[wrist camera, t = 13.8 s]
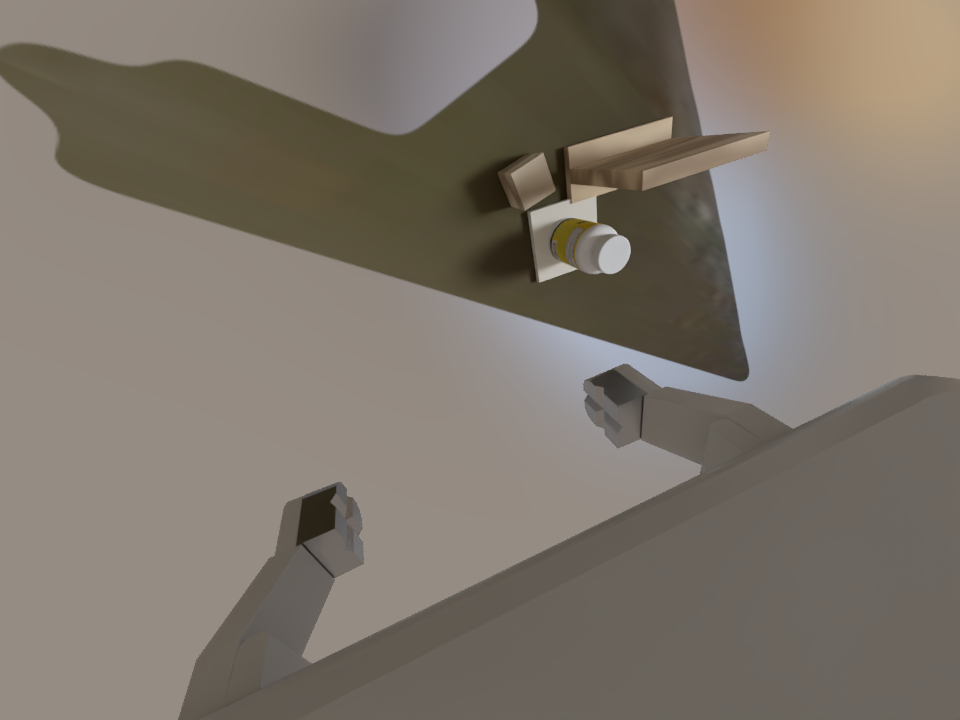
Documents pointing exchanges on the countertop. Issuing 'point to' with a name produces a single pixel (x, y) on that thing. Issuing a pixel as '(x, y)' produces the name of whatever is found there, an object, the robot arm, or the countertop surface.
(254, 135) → the countertop surface
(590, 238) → the supplement bottle
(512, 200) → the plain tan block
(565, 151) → the tan t-shaped stand
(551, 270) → the coaster
